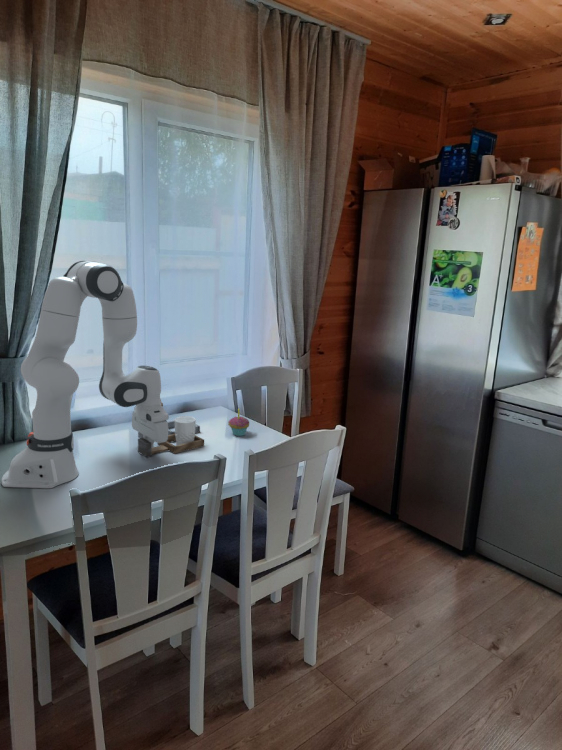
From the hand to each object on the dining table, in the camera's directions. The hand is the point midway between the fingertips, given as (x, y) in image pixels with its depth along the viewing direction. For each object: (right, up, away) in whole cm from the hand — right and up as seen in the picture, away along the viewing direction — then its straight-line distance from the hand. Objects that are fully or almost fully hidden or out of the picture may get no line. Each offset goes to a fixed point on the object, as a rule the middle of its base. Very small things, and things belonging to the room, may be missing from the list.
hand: (149, 447), depth 200 cm
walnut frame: (+6, -1, +6) cm, 9 cm away
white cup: (+11, 0, +10) cm, 15 cm away
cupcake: (+30, +2, +24) cm, 39 cm away
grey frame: (+2, +3, +21) cm, 21 cm away
